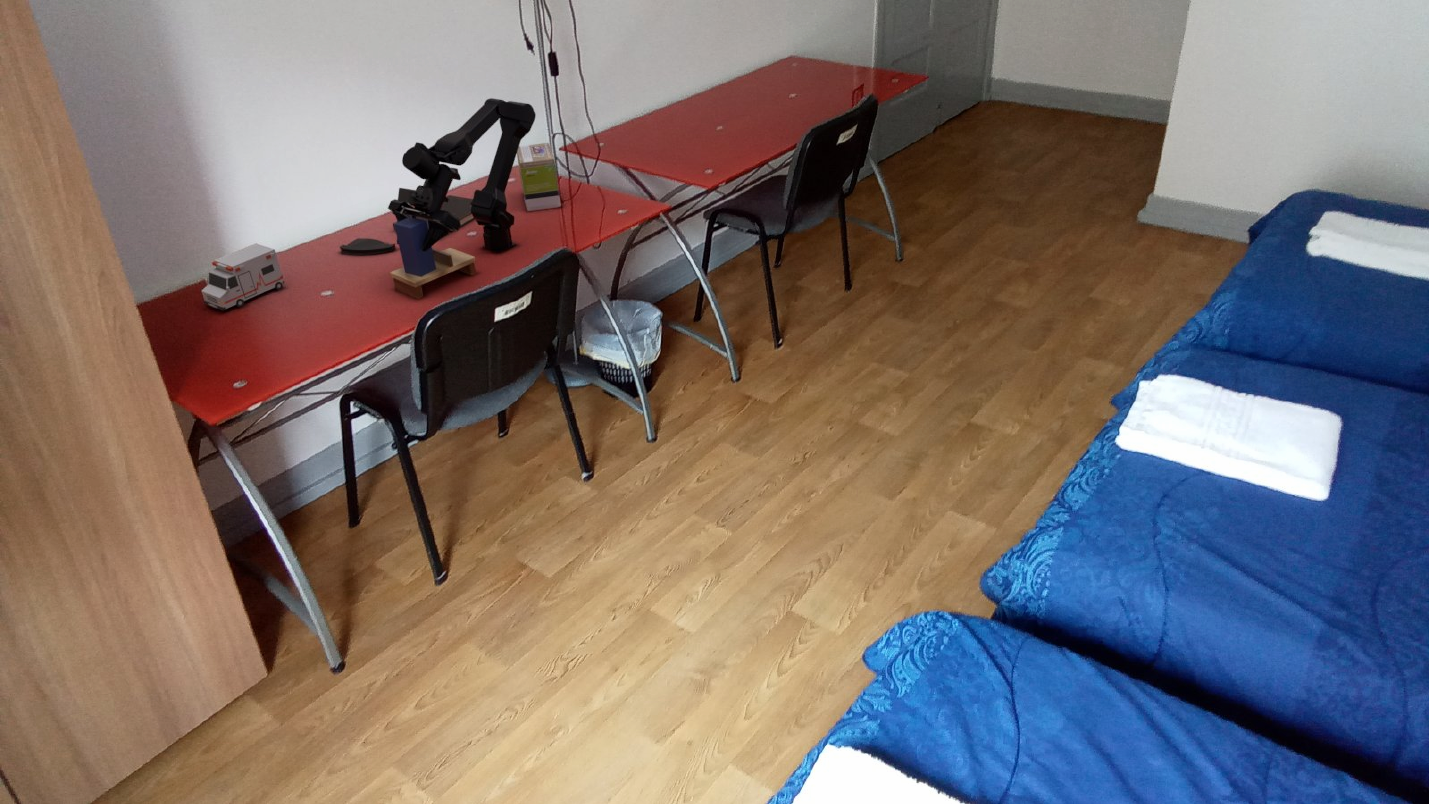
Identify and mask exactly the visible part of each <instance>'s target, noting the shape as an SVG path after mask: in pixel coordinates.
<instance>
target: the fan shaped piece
mask: <svg viewBox="0 0 1429 804" xmlns="http://www.w3.org/2000/svg"><path fill="white" fill-rule="evenodd" d="M396 245H397V242H395V243H385V242H384V241H381V240H379V239H375V238H362V237H361V238H359V237H357V238H355V239H354V240H352V241H351V242H349V243H347V245H345V244H342V245H340V246H339V249H340V252H341V254H346V255H352V256H370V255H378V254H385V253H388V252H389V253H390V252H394V251H396V250H397V248H396Z"/></svg>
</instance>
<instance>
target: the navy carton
mask: <svg viewBox="0 0 1429 804" xmlns="http://www.w3.org/2000/svg"><path fill="white" fill-rule="evenodd" d="M396 222H397V221H396ZM394 223H395V222H394ZM394 225H395V230H396V231H395V230H394V231H395V234H396V240H397V239H398V243H399V245H398V247H399V252H400V257H401V261H402V265H403V267H404V270H405V273H409V274H412V275H416V276H420V277H422V276H424V275H426V274H428V273H430V272H432V271H434V270H435V269H436V265H435V260H434V255H433V251H432V248H433V246H432V247H430V248H429V249H428V250H427V251H426V252H424V251H422V246H423V243H424V240H425V237H426V234H427V232H428V226H427V221H426V220H421V219H417V218H413V217H408V218H406V219H404V220H402V221H400V222H397V223H395V224H394Z"/></svg>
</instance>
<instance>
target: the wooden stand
mask: <svg viewBox="0 0 1429 804" xmlns="http://www.w3.org/2000/svg"><path fill="white" fill-rule="evenodd" d="M432 251H433V255H434V260H435V265H436V269H435V270H434V271H432V272H430V273H428V274H426V275H424V276H422V277H420V276H416V275H412V274H409V273H405V270H404V266H402V267H399V268H397V269H395V270H393V271H390V272H389V275H390V277H391V278H392V280H393V284H394V289H395V291H399V292H400V293H402V294H405V295H407V296H410V297H412V298H414V299H416V300H419V299H422V298H424V293H423V292H424V291H423V289H422V288H423V287H422V285H424V284H427V283H430V282H432V281H435V280H436V279H439V278H440V277H443V276H446V275H448V274H449V273H453V272H455V271H459V272H461V273H464V274H467V275H469V276H474V275H476V274H477V270H476V263H475V262H476V260H477V259H476V256H473V255H471V254H468V253H466V252H462V251H460V250H458V249H454V248H452V247H448V248H446V249H443V250H440V249H437V248H434V247H432Z"/></svg>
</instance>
